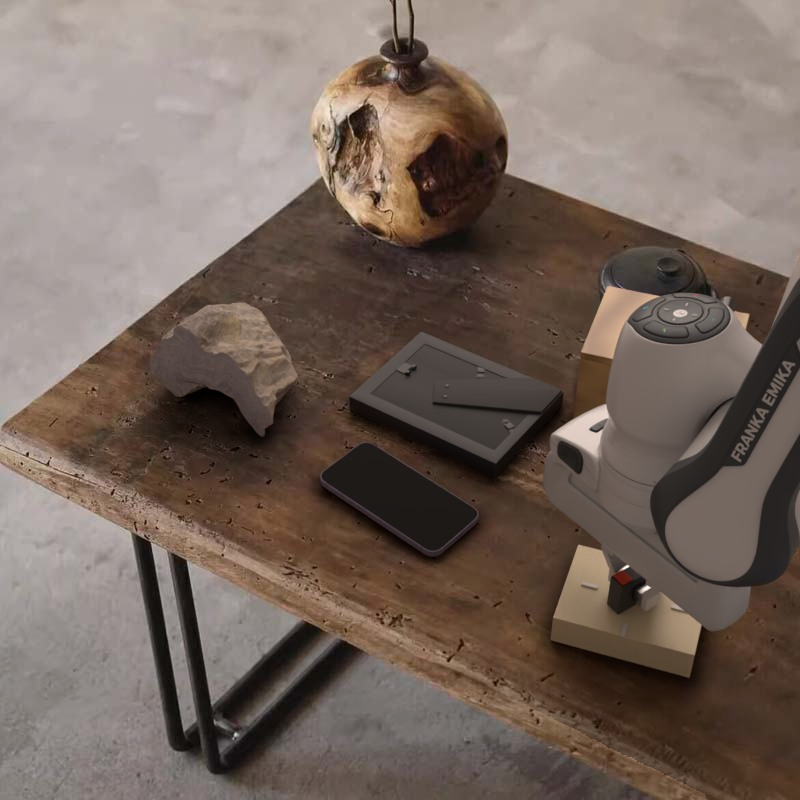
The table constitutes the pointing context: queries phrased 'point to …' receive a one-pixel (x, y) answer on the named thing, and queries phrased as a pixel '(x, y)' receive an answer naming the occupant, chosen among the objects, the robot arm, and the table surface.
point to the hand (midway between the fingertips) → (632, 592)
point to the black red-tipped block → (623, 589)
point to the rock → (227, 360)
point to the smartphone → (399, 498)
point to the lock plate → (621, 621)
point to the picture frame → (457, 403)
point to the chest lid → (623, 321)
